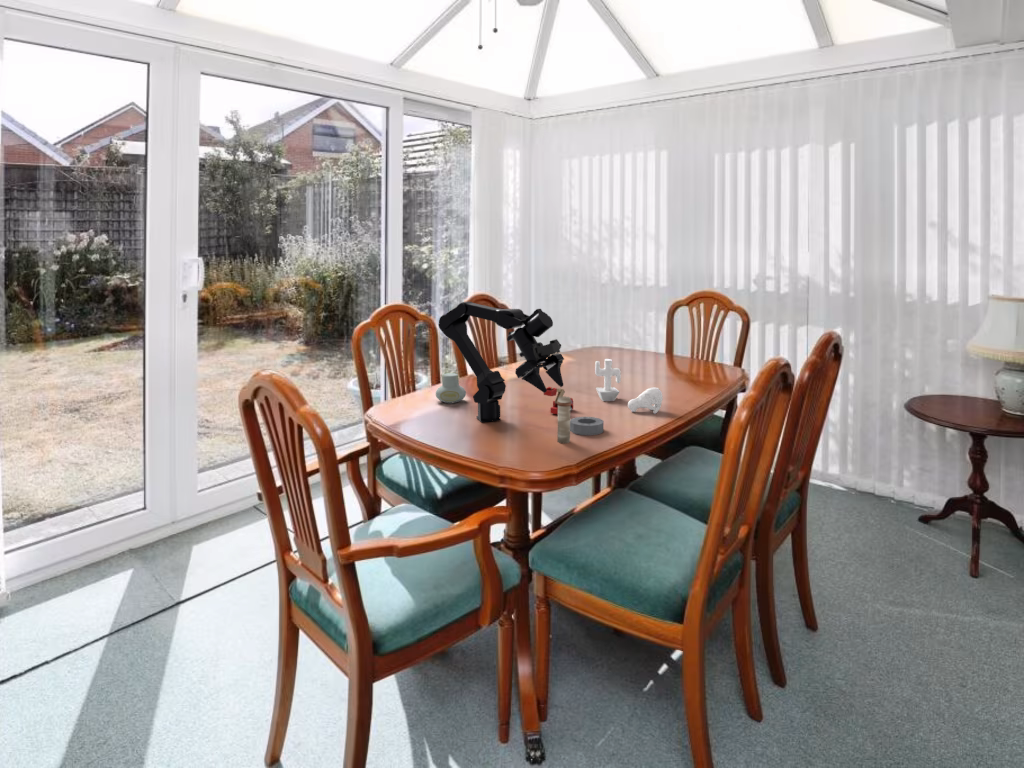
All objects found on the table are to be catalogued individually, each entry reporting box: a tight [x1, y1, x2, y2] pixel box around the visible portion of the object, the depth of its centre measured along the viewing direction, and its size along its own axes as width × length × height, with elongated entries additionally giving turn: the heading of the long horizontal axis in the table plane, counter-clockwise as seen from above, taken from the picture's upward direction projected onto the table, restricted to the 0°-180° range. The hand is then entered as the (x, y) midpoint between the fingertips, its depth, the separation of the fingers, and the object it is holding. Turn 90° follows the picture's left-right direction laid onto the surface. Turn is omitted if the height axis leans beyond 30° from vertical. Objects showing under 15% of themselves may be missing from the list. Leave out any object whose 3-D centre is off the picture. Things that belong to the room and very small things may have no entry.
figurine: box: [594, 358, 622, 402], centre depth 235 cm, size 7×9×15 cm
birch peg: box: [557, 396, 572, 444], centre depth 185 cm, size 4×4×13 cm
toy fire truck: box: [543, 386, 574, 415], centre depth 217 cm, size 3×14×10 cm, turn 141°
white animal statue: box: [627, 386, 663, 414], centre depth 218 cm, size 6×8×12 cm
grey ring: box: [570, 416, 604, 436], centre depth 197 cm, size 10×10×3 cm
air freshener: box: [435, 372, 467, 404], centre depth 233 cm, size 11×8×10 cm
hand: (554, 389), depth 193 cm, fingers open, 9 cm apart
